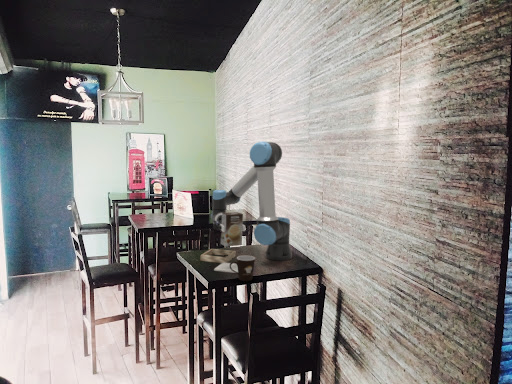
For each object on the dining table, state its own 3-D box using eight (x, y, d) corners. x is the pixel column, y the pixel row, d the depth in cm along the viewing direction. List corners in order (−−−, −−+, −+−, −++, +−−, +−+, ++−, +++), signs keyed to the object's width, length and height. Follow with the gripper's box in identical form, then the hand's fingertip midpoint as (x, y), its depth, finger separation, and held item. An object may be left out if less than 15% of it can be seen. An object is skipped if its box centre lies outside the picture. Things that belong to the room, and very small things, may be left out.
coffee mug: (254, 276, 184) (255, 255, 183) (254, 282, 176) (254, 260, 175) (230, 275, 185) (231, 255, 184) (229, 281, 176) (229, 260, 175)
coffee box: (225, 247, 189) (226, 214, 187) (220, 244, 195) (221, 212, 193) (242, 245, 194) (243, 213, 192) (236, 242, 199) (237, 211, 197)
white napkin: (248, 266, 199) (248, 265, 199) (240, 273, 188) (240, 271, 188) (222, 263, 203) (222, 262, 203) (214, 270, 192) (214, 268, 192)
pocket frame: (235, 256, 218) (235, 251, 218) (226, 263, 204) (226, 257, 204) (211, 253, 223) (211, 248, 222) (200, 260, 208) (200, 255, 208)
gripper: (242, 226, 214) (255, 235, 193) (202, 228, 207) (211, 237, 186) (242, 213, 213) (255, 220, 192) (202, 214, 206) (212, 222, 185)
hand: (234, 228), depth 189 cm, fingers closed on coffee box, 10 cm apart
